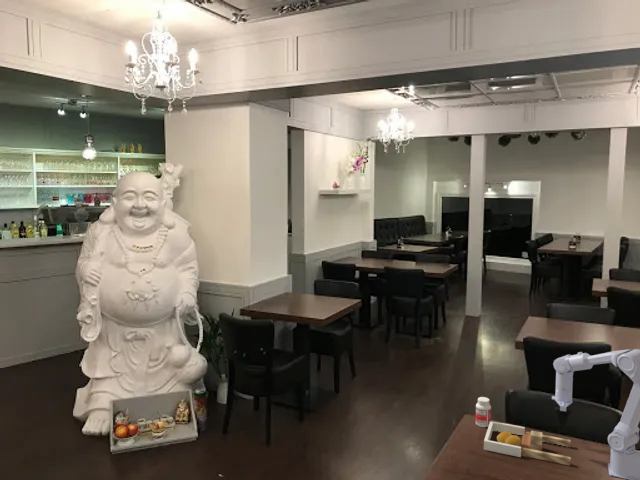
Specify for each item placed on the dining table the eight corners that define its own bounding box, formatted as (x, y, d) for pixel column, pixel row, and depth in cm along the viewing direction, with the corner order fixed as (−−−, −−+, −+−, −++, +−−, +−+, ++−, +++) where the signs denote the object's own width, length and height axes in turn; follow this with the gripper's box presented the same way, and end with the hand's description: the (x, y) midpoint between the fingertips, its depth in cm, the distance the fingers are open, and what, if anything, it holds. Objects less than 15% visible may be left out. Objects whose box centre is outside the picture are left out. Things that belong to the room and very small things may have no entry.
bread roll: (514, 452, 190) (514, 442, 190) (493, 442, 197) (493, 432, 197) (526, 445, 195) (526, 435, 195) (505, 436, 202) (506, 426, 202)
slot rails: (570, 446, 193) (570, 439, 193) (570, 465, 180) (570, 459, 180) (525, 437, 201) (525, 431, 200) (522, 455, 187) (522, 449, 187)
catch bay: (524, 435, 202) (524, 427, 202) (520, 457, 186) (520, 448, 186) (490, 428, 208) (490, 420, 208) (483, 449, 192) (483, 440, 191)
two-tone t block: (542, 444, 195) (542, 429, 194) (541, 455, 187) (541, 440, 186) (522, 440, 198) (523, 426, 198) (521, 451, 190) (521, 436, 190)
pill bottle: (485, 420, 216) (486, 395, 215) (493, 426, 210) (494, 401, 209) (472, 421, 214) (473, 397, 213) (480, 428, 208) (480, 403, 207)
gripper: (552, 379, 199) (551, 412, 201) (551, 392, 186) (550, 427, 188) (572, 382, 196) (571, 415, 197) (573, 396, 183) (571, 431, 185)
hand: (562, 421), depth 192 cm, fingers open, 7 cm apart
